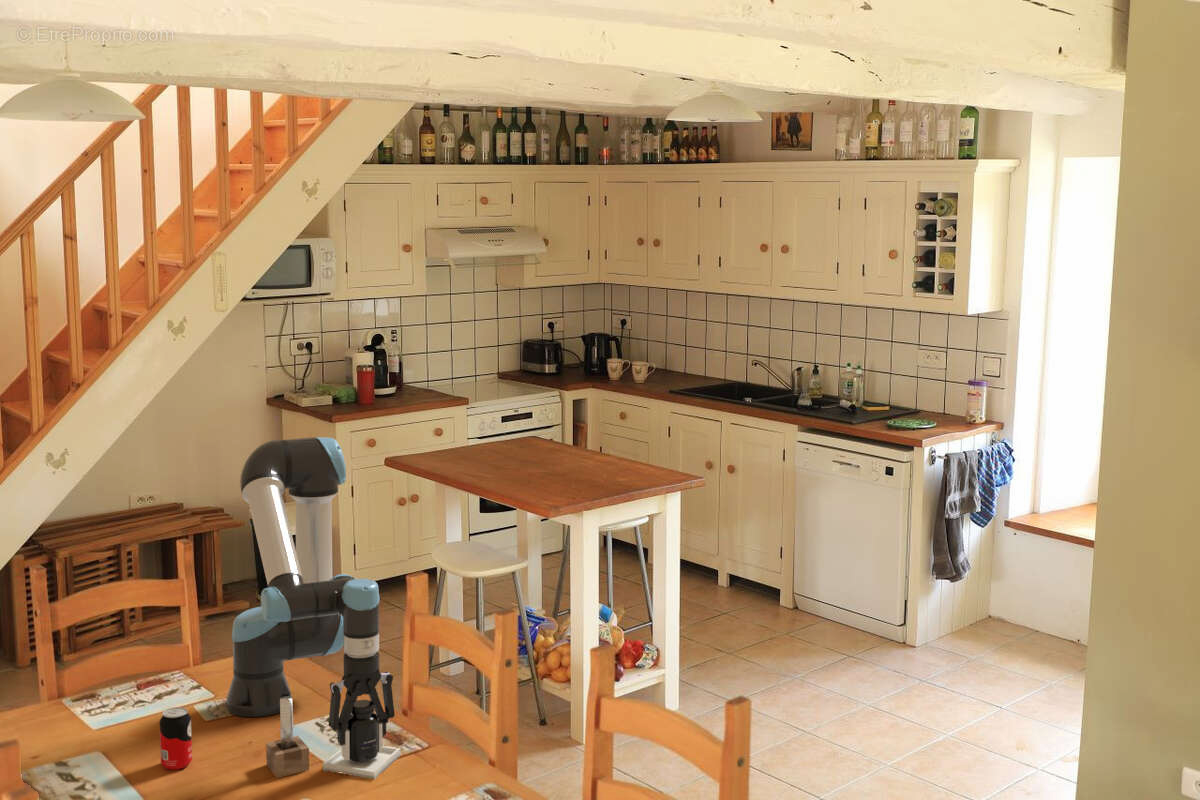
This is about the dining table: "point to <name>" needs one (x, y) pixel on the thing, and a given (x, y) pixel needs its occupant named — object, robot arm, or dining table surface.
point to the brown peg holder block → (287, 757)
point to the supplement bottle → (363, 732)
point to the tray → (362, 763)
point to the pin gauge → (286, 722)
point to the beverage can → (175, 738)
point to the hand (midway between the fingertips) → (362, 753)
